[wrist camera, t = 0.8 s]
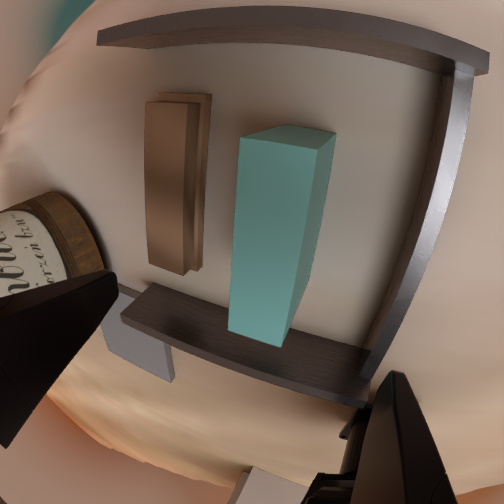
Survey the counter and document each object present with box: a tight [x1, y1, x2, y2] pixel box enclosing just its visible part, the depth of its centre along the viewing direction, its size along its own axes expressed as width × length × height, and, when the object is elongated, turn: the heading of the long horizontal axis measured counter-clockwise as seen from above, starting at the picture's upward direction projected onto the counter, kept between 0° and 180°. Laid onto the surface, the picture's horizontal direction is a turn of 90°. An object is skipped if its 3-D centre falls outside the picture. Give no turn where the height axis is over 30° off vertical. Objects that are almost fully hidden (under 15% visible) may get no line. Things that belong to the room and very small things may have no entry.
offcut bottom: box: [159, 93, 212, 271], centre depth 21 cm, size 13×4×2 cm, turn 173°
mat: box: [100, 284, 175, 383], centre depth 32 cm, size 12×10×1 cm
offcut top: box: [144, 101, 201, 276], centre depth 20 cm, size 12×3×2 cm, turn 173°
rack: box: [97, 6, 490, 409], centre depth 17 cm, size 22×20×5 cm
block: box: [228, 124, 336, 347], centre depth 16 cm, size 10×3×7 cm, turn 175°
